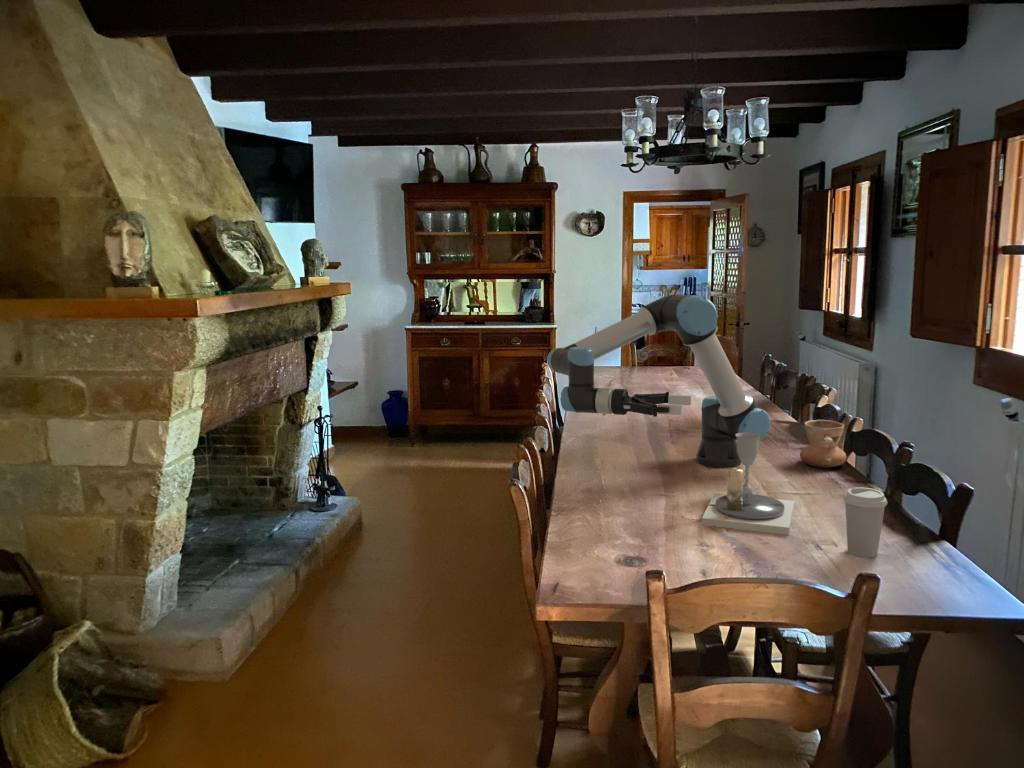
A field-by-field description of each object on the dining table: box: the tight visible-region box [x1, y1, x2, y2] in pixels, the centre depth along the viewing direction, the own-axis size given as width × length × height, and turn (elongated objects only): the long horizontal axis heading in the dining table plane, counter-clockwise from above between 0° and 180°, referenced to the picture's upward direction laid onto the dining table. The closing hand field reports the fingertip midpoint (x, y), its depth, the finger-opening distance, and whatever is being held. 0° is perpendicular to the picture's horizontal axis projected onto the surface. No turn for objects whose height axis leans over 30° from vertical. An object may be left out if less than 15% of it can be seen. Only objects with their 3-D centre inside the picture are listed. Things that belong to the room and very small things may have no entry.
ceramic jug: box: [799, 419, 847, 469], centre depth 252 cm, size 18×14×14 cm
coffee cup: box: [842, 486, 888, 559], centre depth 179 cm, size 10×10×15 cm
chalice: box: [736, 432, 760, 494], centre depth 225 cm, size 7×7×18 cm
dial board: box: [701, 492, 796, 536], centre depth 207 cm, size 22×22×2 cm
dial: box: [716, 466, 784, 520], centre depth 206 cm, size 18×18×12 cm
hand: (686, 405), depth 211 cm, fingers open, 13 cm apart
